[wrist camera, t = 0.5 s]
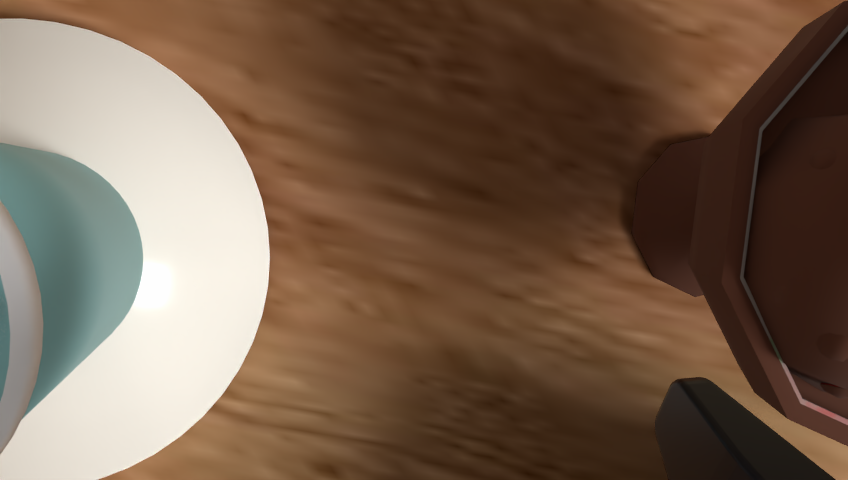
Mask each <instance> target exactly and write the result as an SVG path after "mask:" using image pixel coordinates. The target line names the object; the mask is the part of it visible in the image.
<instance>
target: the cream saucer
mask: <svg viewBox="0 0 848 480" xmlns="http://www.w3.org/2000/svg"><path fill="white" fill-rule="evenodd" d="M0 143H5V144H10V145H15V146H20V147H26V148H31V149H36V150H41V151H46V152H51V153H56V154H59V155H62V156H65V157H68V158H71V159H73V160H75V161H77V162H80V163H82V164H84V165H86V166H87V167H89V168H90V169H92V170H93V171H95V172H97V173H98V174H99V175H100V176H102V177H103V178H104V179H105V180H107V181H108V182H109V183H110V184H111V185H112V186H113V187H114V188H115V190H116V191H117V192H118V193H119V194H120V195H121V197H122V198H123V200H124V201H125V202H126V204H127V205H128V207H129V209H130V211H131V213H132V214H133V216H134V218H135V221H136V224H137V227H138V229H139V233H140V237H141V242H142V249H143V272H142V277H141V283H140V287H139V290H138V293H137V296H136V298H135V301H134V303H133V305H132V307H131V309H130V310H129V312H128V314H127V315H126V317H125V318H124V319H123V321H122V322H121V324H120V325H119V326H118V327H117V328H116V329H115V330H114V331H113V333H112V334H111V335H110V336H109V337H108V338H106V339H105V340H104V341H103V342H102V343H101V344H100V345H99V346H98V347H97V348H96V349H95V350H94V351H93V352H92V353H91V354H90V355H89V356H88V357H87V358H86V359H85V360H84V361H82V362H81V363H80V364H79V365H78V366H77V367H76V368H75V369H74V370H73V371H72V372H71V373H70V374H69V375H68V376H67V377H66V378H65V379H64V380H63V381H62V382H61V383H60V384H58V385H57V386H56V387H55V388H54V389H53V390H52V391H51V392H50V393H49V394H48V395H47V396H46V397H45V398H44V399H43V400H42V401H41V402H40V403H39V404H38V405H37V406H35V407H34V408H33V409H32V410H31V411H30V412H29V413H28V414H27V415H26V416H25V417H24V418H23V419H22V420H21V422H20V424H19V426H18V428H17V429H16V431H15V433H14V435H13V437H12V439H11V440H10V441H9V443H8V444H7V446H6V447H5V449H4V450H3V452H2V453H1V454H0V480H98V479H100V478H103V477H106V476H108V475H111V474H114V473H116V472H119V471H122V470H124V469H127V468H129V467H131V466H133V465H135V464H137V463H138V462H140V461H142V460H144V459H146V458H148V457H150V456H152V455H154V454H156V453H157V452H158V451H160V450H161V449H163V448H164V447H166V446H167V445H169V444H170V443H171V442H173V441H174V440H176V439H177V438H179V437H180V436H181V435H183V434H184V433H185V432H186V431H187V430H188V429H189V428H190V427H192V426H193V425H194V424H195V423H196V422H197V421H198V420H199V419H201V418H202V417H203V416H204V415H205V414H206V412H207V411H208V410H209V409H210V408H211V407H212V406H213V404H214V403H215V402H216V401H217V400H218V399H219V398H220V396H221V395H222V394H223V393H224V391H225V390H226V388H227V387H228V385H229V384H230V382H231V381H232V379H233V378H234V376H235V375H236V374H237V372H238V371H239V369H240V367H241V365H242V363H243V361H244V359H245V357H246V355H247V353H248V351H249V349H250V347H251V345H252V343H253V340H254V338H255V335H256V332H257V329H258V326H259V323H260V320H261V317H262V314H263V309H264V304H265V299H266V294H267V289H268V278H269V262H270V252H269V238H268V227H267V222H266V217H265V212H264V207H263V203H262V198H261V196H260V193H259V190H258V187H257V184H256V181H255V178H254V176H253V173H252V170H251V168H250V166H249V164H248V162H247V160H246V158H245V156H244V154H243V152H242V150H241V149H240V147H239V145H238V143H237V142H236V140H235V139H234V137H233V136H232V134H231V133H230V131H229V130H228V128H227V127H226V125H225V124H224V122H223V121H222V120H221V118H220V117H219V116H218V115H217V114H216V113H215V111H214V110H213V109H212V108H211V107H210V106H209V105H208V104H207V102H206V101H205V100H204V99H203V98H202V97H201V96H200V95H199V94H198V93H197V92H196V91H195V90H193V89H192V88H191V87H190V86H189V85H188V84H187V83H185V82H184V81H183V80H182V79H181V78H180V77H179V76H178V75H176V74H175V73H173V72H172V71H170V70H169V69H167V68H166V67H165V66H163V65H162V64H160V63H159V62H157V61H156V60H154V59H153V58H151V57H150V56H148V55H146V54H144V53H142V52H140V51H138V50H136V49H134V48H132V47H130V46H128V45H126V44H124V43H122V42H120V41H118V40H115V39H112V38H110V37H107V36H104V35H101V34H99V33H96V32H93V31H91V30H87V29H83V28H79V27H74V26H70V25H66V24H62V23H57V22H49V21H40V20H31V19H0Z"/></svg>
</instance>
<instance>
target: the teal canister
mask: <svg viewBox="0 0 848 480" xmlns="http://www.w3.org/2000/svg"><path fill="white" fill-rule="evenodd" d="M142 272H143V249H142V242H141V237H140V233H139V229H138V227H137V224H136V221H135V218H134V216H133V214H132V213H131V211H130V209H129V207H128V205H127V204H126V202H125V201H124V200H123V198H122V197H121V195H120V194H119V193H118V192H117V191H116V190H115V188H114V187H113V186H112V185H111V184H110V183H109V182H108V181H107V180H105V179H104V178H103V177H102V176H100V175H99V174H98V173H97V172H95V171H93V170H92V169H90V168H89V167H87V166H86V165H84V164H82V163H80V162H77V161H75V160H73V159H71V158H68V157H65V156H62V155H59V154H56V153H51V152H46V151H41V150H36V149H31V148H26V147H20V146H15V145H10V144H5V143H0V454H1V453H2V452H3V450H4V449H5V447H6V446H7V444H8V443H9V441H10V440H11V439H12V437H13V435H14V433H15V431H16V429H17V428H18V426H19V424H20V422H21V420H22V419H23V418H24V417H25V416H26V415H27V414H28V413H29V412H30V411H31V410H32V409H33V408H34V407H35V406H37V405H38V404H39V403H40V402H41V401H42V400H43V399H44V398H45V397H46V396H47V395H48V394H49V393H50V392H51V391H52V390H53V389H54V388H55V387H56V386H57V385H58V384H60V383H61V382H62V381H63V380H64V379H65V378H66V377H67V376H68V375H69V374H70V373H71V372H72V371H73V370H74V369H75V368H76V367H77V366H78V365H79V364H80V363H81V362H82V361H84V360H85V359H86V358H87V357H88V356H89V355H90V354H91V353H92V352H93V351H94V350H95V349H96V348H97V347H98V346H99V345H100V344H101V343H102V342H103V341H104V340H105V339H106V338H108V337H109V336H110V335H111V334H112V333H113V331H114V330H115V329H116V328H117V327H118V326H119V325H120V324H121V322H122V321H123V319H124V318H125V317H126V315H127V314H128V312H129V310H130V309H131V307H132V305H133V303H134V301H135V298H136V296H137V293H138V290H139V287H140V283H141V277H142Z"/></svg>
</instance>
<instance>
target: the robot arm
mask: <svg viewBox="0 0 848 480" xmlns="http://www.w3.org/2000/svg"><path fill="white" fill-rule="evenodd" d="M655 434H656V438H657V441H658V445H659V448H660V452H661V455H662V459H663V462H664V465H665V469H666V472H667V476H668V479H669V480H835V479H834V478H833V477H832V476H830V475H829V474H828V473H826V472H825V471H824V470H823V469H821V468H820V467H819V466H818V465H816V464H815V463H814V462H813V461H811V460H810V459H809V458H808V457H806V456H805V455H804V454H802V453H801V452H800V451H799V450H797V449H796V448H795V447H794V446H792V445H791V444H790V443H789V442H787V441H786V440H785V439H784V438H782V437H781V436H780V435H778V434H777V433H776V432H775V431H773V430H772V429H771V428H770V427H768V426H767V425H766V424H765V423H763V422H762V421H761V420H760V419H758V418H757V417H756V416H754V415H753V414H752V413H751V412H749V411H748V410H747V409H746V408H744V407H743V406H742V405H741V404H739V403H738V402H737V401H736V400H734V399H733V398H732V397H730V396H729V395H728V394H727V393H725V392H724V391H723V390H722V389H720V388H719V387H718V386H717V385H715V384H714V383H713V382H711V381H710V380H708V379H706V378H702V377H695V378H684V379H677V380H675V381H674V382H673V383H672V384H671V385H670V387H669V390H668V392H667V394H666V396H665V398H664V400H663V403H662V405H661V407H660V409H659V411H658V414H657V416H656V420H655Z"/></svg>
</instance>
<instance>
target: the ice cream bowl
mask: <svg viewBox="0 0 848 480" xmlns="http://www.w3.org/2000/svg"><path fill="white" fill-rule="evenodd" d="M632 235H633V237H634V239H635V241H636V243H637V245H638V247H639V249H640V251H641V253H642V255H643V257H644V259H645V261H646V263H647V265H648V267H649V269H650V271H651V273H652V275H653V277H655V278H657V279H659V280H661V281H663V282H665V283H667V284H669V285H671V286H673V287H676V288H678V289H680V290H682V291H684V292H686V293H688V294H690V295H692V296H694V297H697V296H701V295H704V296H705V298H706V300H707V302H708V304H709V306H710V308H711V310H712V312H713V314H714V316H715V318H716V320H717V322H718V324H719V326H720V328H721V330H722V332H723V334H724V336H725V339H726V341H727V343H728V345H729V347H730V349H731V351H732V353H733V355H734V357H735V359H736V361H737V363H738V365H739V366H740V368H741V370H742V372H743V373H744V375H745V377H746V378H747V380H748V382H749V384H750V385H751V387H752V389H753V391H754V392H755V393H756V394H757V395H758V396H760V397H761V398H762V399H763V400H765V401H766V402H767V403H768V404H770V405H771V406H772V407H774V408H775V409H776V410H777V411H779V412H780V413H781V414H782V415H784V416H785V417H786V418H787V419H789V420H791V421H794V422H796V423H798V424H800V425H802V426H805V427H807V428H809V429H811V430H813V431H816V432H818V433H820V434H822V435H824V436H827V437H829V438H831V439H833V440H836V441H838V442H840V443H842V444H844V445H847V446H848V1H844V2H842V3H841V4H839V5H838V6H836V7H834V8H833V9H831V10H830V11H828V12H827V13H825V14H823V15H822V16H820V17H819V18H817V19H815V20H814V21H812V22H811V23H809V24H808V25H806V26H804V27H803V28H802V29H801V30H800V31H799V32H798V34H797V35H796V36H795V37H794V38H793V39H792V41H791V42H790V43H789V44H788V45H787V46H786V48H785V49H784V50H783V51H782V52H781V53H780V54H779V56H778V57H777V58H776V59H775V60H774V61H773V63H772V64H771V65H770V66H769V67H768V68H767V70H766V71H765V72H764V73H763V74H762V75H761V77H760V78H759V79H758V80H757V81H756V82H755V83H754V85H753V86H752V87H751V88H750V89H749V90H748V92H747V93H746V94H745V95H744V96H743V97H742V99H741V100H740V101H739V102H738V103H737V104H736V106H735V107H734V108H733V109H732V110H731V111H730V112H729V114H728V115H727V116H726V117H725V118H724V119H723V121H722V122H721V123H720V124H719V125H718V126H717V128H716V129H715V130H714V131H713V132H712V134H711V135H710V136H709V137H705V138H700V139H695V140H690V141H685V142H680V143H675V144H670V146H669V147H668V148H667V149H666V150H665V151H664V153H663V154H662V155H661V156H660V157H659V158H658V159H657V161H656V162H655V163H654V164H653V165H652V166H651V168H650V169H649V170H648V171H647V172H646V173H645V174H644V176H643V177H642V178H641V179H640V180H639V181H638V185H637V193H636V201H635V209H634V217H633V225H632Z"/></svg>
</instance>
